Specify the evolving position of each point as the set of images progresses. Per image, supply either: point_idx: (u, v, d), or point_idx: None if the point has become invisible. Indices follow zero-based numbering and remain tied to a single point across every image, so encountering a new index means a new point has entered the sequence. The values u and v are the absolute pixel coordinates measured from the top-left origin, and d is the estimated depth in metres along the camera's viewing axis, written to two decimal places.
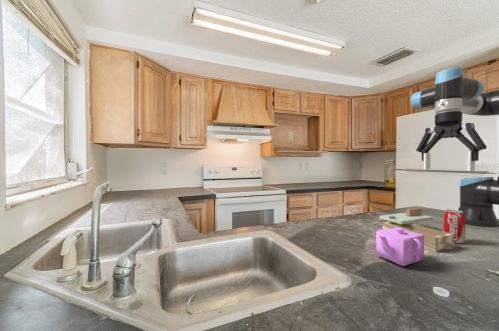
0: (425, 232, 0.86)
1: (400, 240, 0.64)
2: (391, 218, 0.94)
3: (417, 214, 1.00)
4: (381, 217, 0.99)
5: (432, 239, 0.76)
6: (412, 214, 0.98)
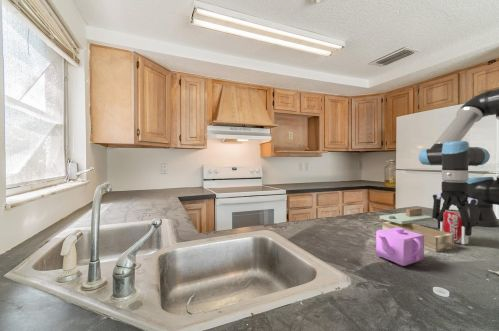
0: (425, 232, 0.86)
1: (400, 240, 0.64)
2: (391, 218, 0.94)
3: (417, 214, 1.00)
4: (381, 217, 0.99)
5: (432, 239, 0.76)
6: (412, 214, 0.98)
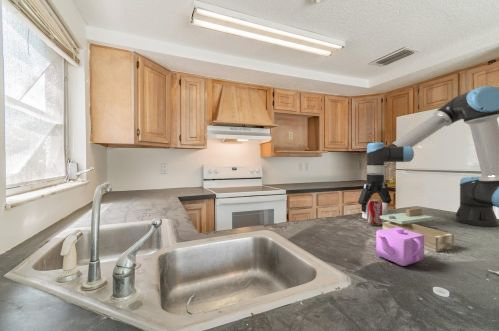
0: (425, 232, 0.86)
1: (400, 240, 0.64)
2: (391, 218, 0.94)
3: (417, 214, 1.00)
4: (381, 217, 0.99)
5: (432, 239, 0.76)
6: (412, 214, 0.98)
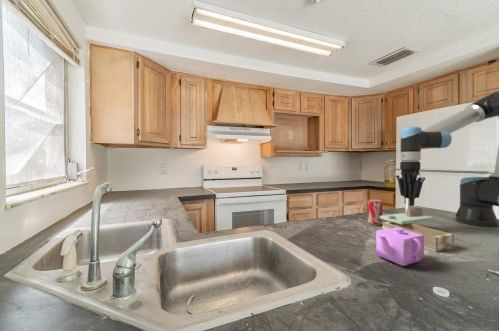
0: (425, 232, 0.86)
1: (400, 240, 0.64)
2: (391, 218, 0.94)
3: (418, 214, 0.99)
4: (381, 217, 0.99)
5: (432, 239, 0.76)
6: (413, 214, 0.98)
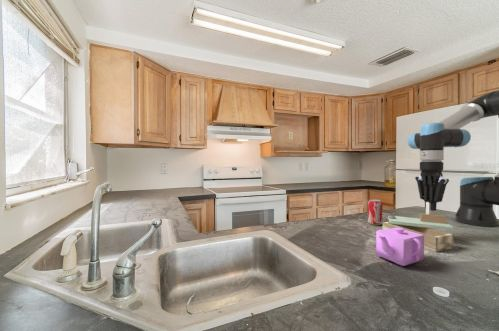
0: (425, 232, 0.86)
1: (400, 240, 0.64)
2: (389, 217, 0.95)
3: (437, 221, 0.87)
4: (388, 217, 0.99)
5: (432, 239, 0.76)
6: (426, 220, 0.89)
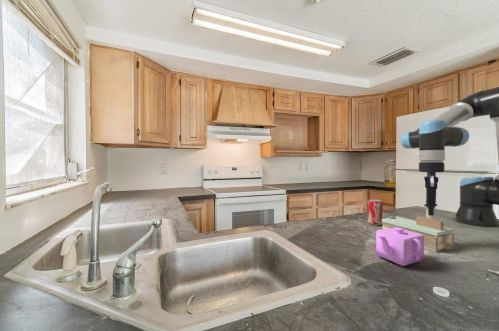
0: None
1: (400, 240, 0.64)
2: None
3: (431, 227, 0.81)
4: None
5: (432, 239, 0.76)
6: (421, 223, 0.84)
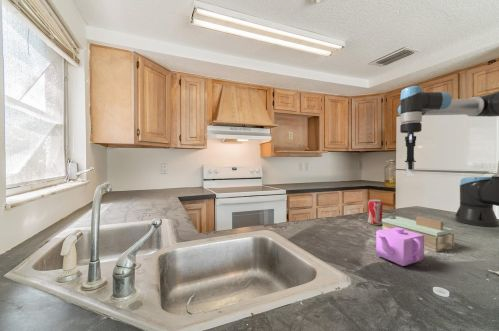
0: None
1: (400, 240, 0.64)
2: None
3: (431, 227, 0.81)
4: None
5: (432, 239, 0.76)
6: (421, 223, 0.84)
